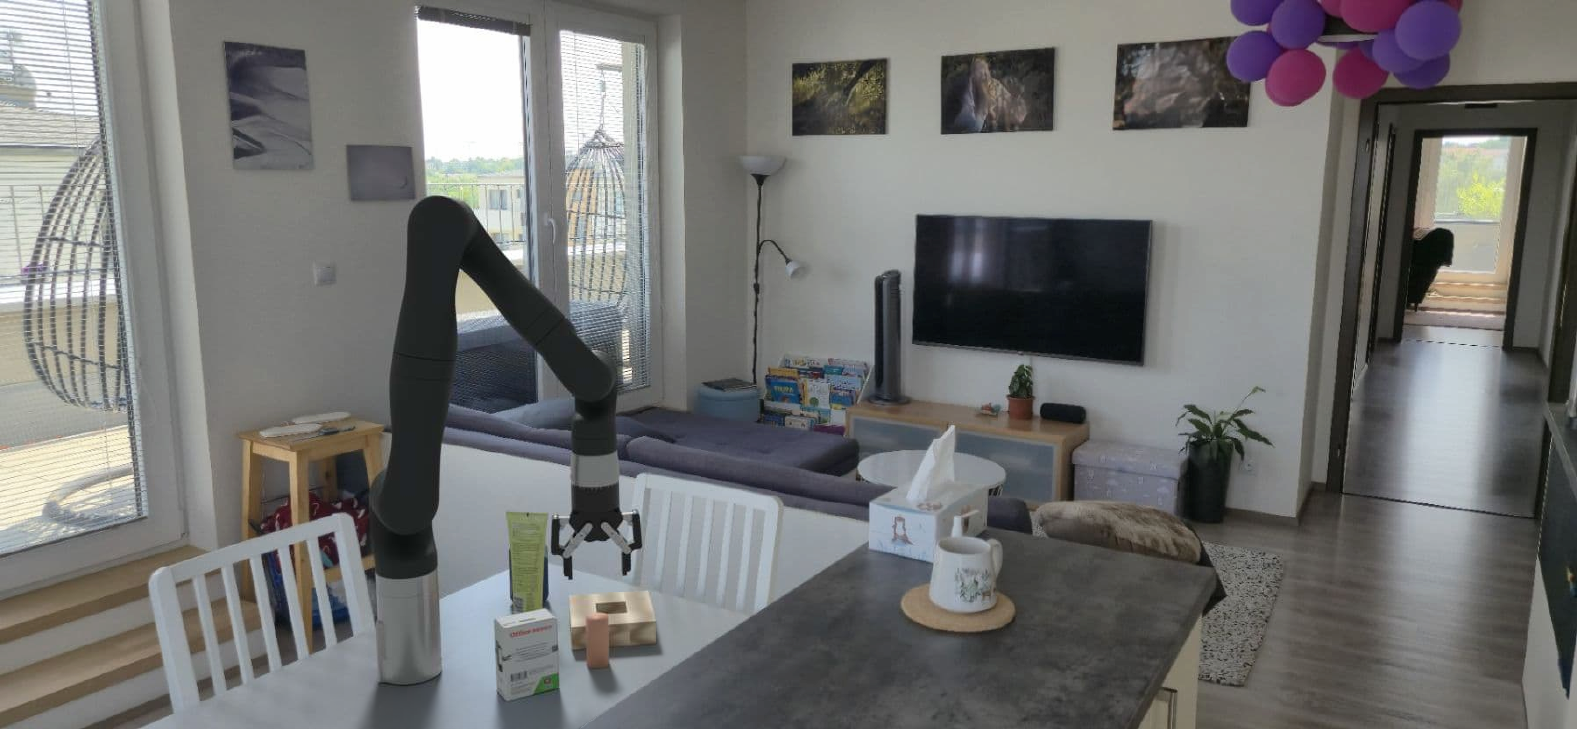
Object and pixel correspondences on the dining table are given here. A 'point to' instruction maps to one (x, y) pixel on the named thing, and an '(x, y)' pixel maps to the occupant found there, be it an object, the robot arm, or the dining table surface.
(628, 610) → the socket
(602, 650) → the peg
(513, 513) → the tube
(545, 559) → the soda can
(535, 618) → the ink box
